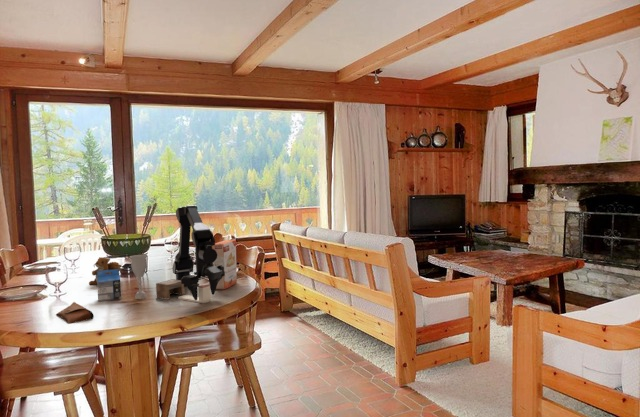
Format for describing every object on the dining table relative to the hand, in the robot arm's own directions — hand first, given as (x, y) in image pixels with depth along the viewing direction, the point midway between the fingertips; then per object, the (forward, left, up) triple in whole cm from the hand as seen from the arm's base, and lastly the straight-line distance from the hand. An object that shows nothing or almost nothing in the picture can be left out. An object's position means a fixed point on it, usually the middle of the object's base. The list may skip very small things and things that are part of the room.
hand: (204, 297), depth 184 cm
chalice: (-31, -8, -2) cm, 32 cm away
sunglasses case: (-30, -37, -3) cm, 48 cm away
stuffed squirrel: (-72, +2, -2) cm, 72 cm away
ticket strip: (-6, 0, -2) cm, 7 cm away
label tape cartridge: (-41, -16, -2) cm, 44 cm away
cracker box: (-12, +24, -2) cm, 27 cm away
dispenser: (-21, 0, -2) cm, 21 cm away
